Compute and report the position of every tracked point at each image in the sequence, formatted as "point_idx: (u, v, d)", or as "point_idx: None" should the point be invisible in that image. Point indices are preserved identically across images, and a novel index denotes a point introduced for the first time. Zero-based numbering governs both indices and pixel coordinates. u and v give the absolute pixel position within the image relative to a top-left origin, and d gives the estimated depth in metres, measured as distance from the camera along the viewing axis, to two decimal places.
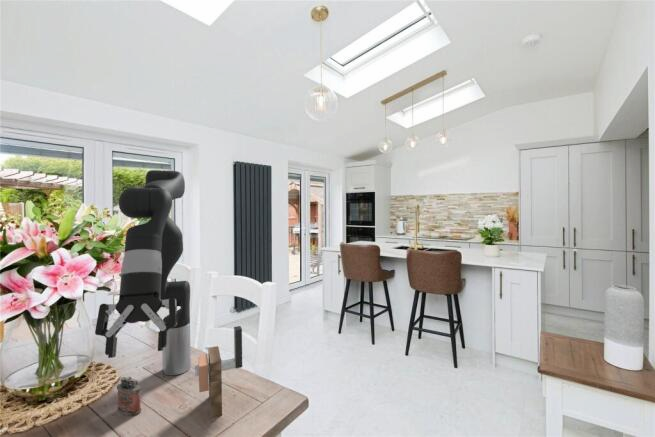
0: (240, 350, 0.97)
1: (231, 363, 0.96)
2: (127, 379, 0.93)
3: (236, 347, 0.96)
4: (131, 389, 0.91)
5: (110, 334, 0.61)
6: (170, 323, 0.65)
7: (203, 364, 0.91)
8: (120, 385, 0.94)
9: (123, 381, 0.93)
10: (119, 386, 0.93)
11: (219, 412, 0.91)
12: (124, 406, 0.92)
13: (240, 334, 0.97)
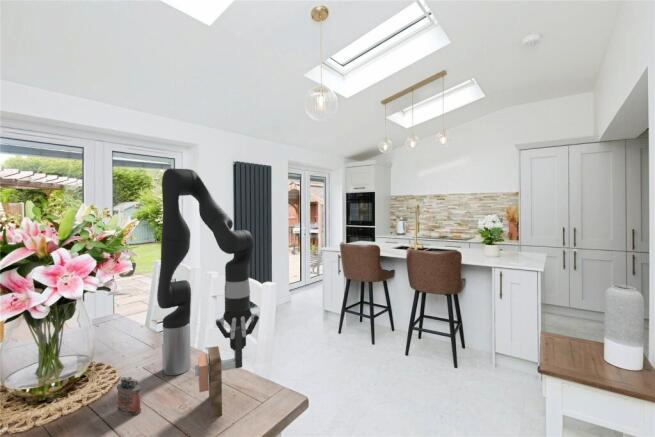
0: (240, 350, 0.97)
1: (231, 363, 0.96)
2: (127, 379, 0.93)
3: (236, 347, 0.96)
4: (131, 389, 0.91)
5: (233, 337, 0.96)
6: (248, 332, 0.98)
7: (203, 364, 0.91)
8: (120, 385, 0.94)
9: (123, 381, 0.93)
10: (119, 386, 0.93)
11: (219, 412, 0.91)
12: (124, 406, 0.92)
13: (240, 334, 0.97)
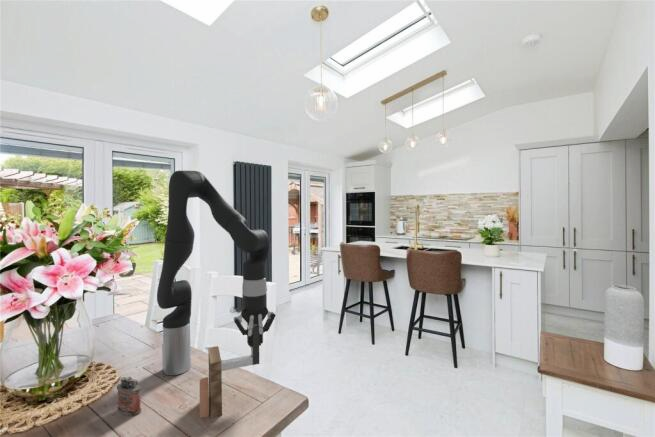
0: (257, 347, 0.99)
1: (249, 360, 0.98)
2: (127, 379, 0.93)
3: (253, 344, 0.98)
4: (131, 389, 0.91)
5: (250, 334, 0.98)
6: (265, 329, 1.00)
7: (203, 389, 0.91)
8: (120, 385, 0.94)
9: (123, 381, 0.93)
10: (119, 386, 0.93)
11: (219, 412, 0.91)
12: (124, 406, 0.92)
13: (257, 331, 0.99)
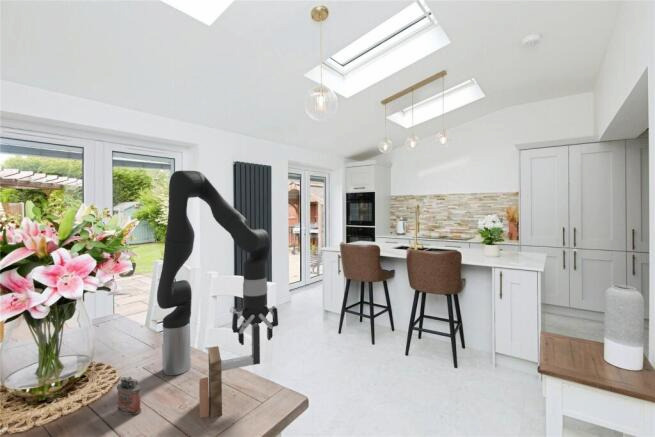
0: (258, 347, 0.99)
1: (250, 360, 0.98)
2: (127, 379, 0.93)
3: (254, 344, 0.98)
4: (131, 389, 0.91)
5: (241, 332, 0.97)
6: (275, 324, 1.01)
7: (203, 390, 0.91)
8: (120, 385, 0.94)
9: (123, 381, 0.93)
10: (119, 386, 0.93)
11: (219, 412, 0.91)
12: (124, 406, 0.92)
13: (258, 331, 0.99)
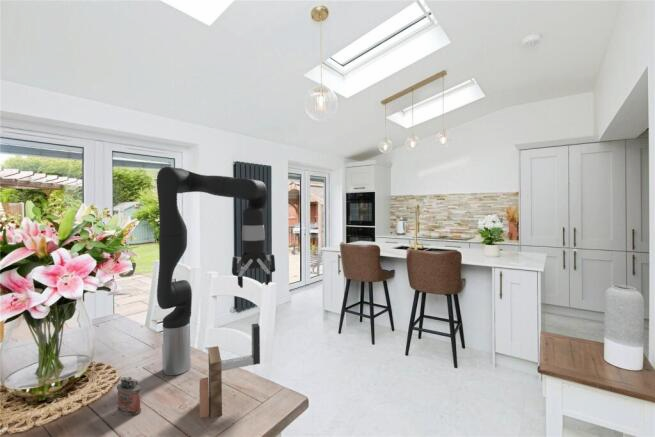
0: (258, 347, 0.99)
1: (250, 360, 0.98)
2: (127, 379, 0.93)
3: (254, 344, 0.98)
4: (131, 389, 0.91)
5: (240, 275, 1.03)
6: (272, 270, 1.07)
7: (203, 389, 0.91)
8: (120, 385, 0.94)
9: (123, 381, 0.93)
10: (119, 386, 0.93)
11: (219, 412, 0.91)
12: (124, 406, 0.92)
13: (258, 331, 0.99)
